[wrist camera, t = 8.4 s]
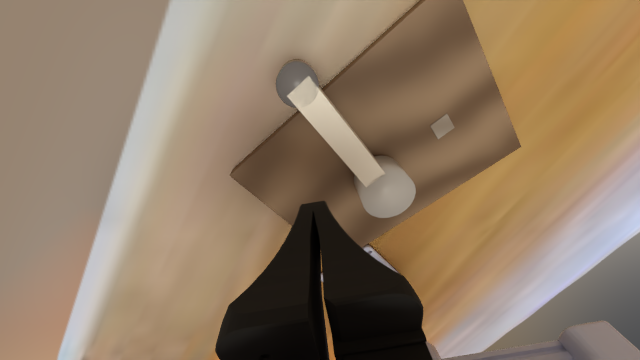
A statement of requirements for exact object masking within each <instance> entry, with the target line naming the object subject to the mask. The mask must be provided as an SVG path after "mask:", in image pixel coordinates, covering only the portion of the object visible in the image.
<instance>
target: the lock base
mask: <svg viewBox="0 0 640 360" xmlns="http://www.w3.org/2000/svg"><path fill="white" fill-rule="evenodd" d="M322 91H323V92H324V93H325V94H326V96H327V97H328V98H329V100H330V101H331V102H332V103H333V105H334V106H335V107H336V109H337V110H338V111H339V112H340V114H341V115H342V116H343V118H344V119H345V120H346V121H347V123H348V124H349V125H350V127H351V128H352V129H353V130H354V132H355V133H356V134H357V136H358V137H359V138H360V139H361V141H362V142H363V143H364V145H365V146H366V147H367V148H368V150H369V151H370V152H371V154H372V155H373V156H374V157H375V156H388V157H391V158H392V159H394V160H395V161H396V162H397V163H398V164H399V165H400V166H401V168H402V169H403V170H404V171H405V172H406V174H407V175H408V176H409V177H410V178H411V180H412V181H413V182H414V184H415V188H416V194H415V198H414V200H413V202H412V203H411V205H410V206H409V207H408V208H407V209H406V210H405V211H403V212H402V213H400V214H398V215H396V216H393V217H389V218H378V217H375V216H372V215H370V214H369V213H368V212H367V211H366V210H365V209H364V207H363V204H362V202H361V199H360V197H359V194H358V192H357V189H356V187H355V184H354V176H355V174H354V173H353V172H352V170H351V169H350V168H349V167H348V166H347V165H346V164H345V162H344V161H343V160H342V159H341V158H340V157H339V155H338V154H337V153H336V152H335V151H334V150H333V149H332V147H331V146H330V145H329V144H328V143H327V142H326V141H325V139H324V138H323V137H322V136H321V135H320V134H319V132H318V131H317V130H316V129H315V128H314V127H313V126H312V124H311V123H310V122H309V121H308V120H307V119H306V118H305V116H304V115H303V114H302V113H301V112H300V111H299V110H298V111H297V112H296V113H295V114H294V115H293V116H292V117H290V118H289V119H288V120H287V121H286V122H285V123H284V124H283V125H282V126H280V127H279V128H278V129H277V130H276V131H275V132H274V133H273V134H272V135H271V136H269V137H268V138H267V139H266V140H265V141H264V142H263V143H262V144H261V145H259V146H258V147H257V148H256V149H255V150H254V151H253V152H252V153H251V154H249V155H248V156H247V157H246V158H245V159H244V160H243V161H242V162H241V163H239V164H238V165H237V166H236V167H235V168H234V169H233V170H232V172H231V174H230V176H231V177H232V178H233V179H234V180H236V181H237V182H238V183H239V184H241V185H242V186H243V187H244V188H246V189H247V190H248V191H249V192H251V193H252V194H253V195H254V196H256V197H257V198H258V199H259V200H261V201H262V202H263V203H264V204H266V205H267V206H268V207H269V208H271V209H272V210H273V211H274V212H276V213H277V214H278V215H279V216H281V217H282V218H283V219H284V220H286V221H287V222H288V223H289V224H291V225H292V226H293V224H294V222H295V219H296V217H297V214H298V211H299V208H300V206H301V204H306V203H312V202H318V201H325V202H326V203H327V206H328V208H329V210H330V211H331V213H332V215H333V216H334V218H335V219H336V220H337V222H338V223H339V225H340V226H341V227H342V228H343V229H344V231H345V232H346V233H347V234H348V235H349V236H350V237H351V238H352V239H353V240H354V241H355V242H356V243H357V244H358V245H359V246H360V247H361V248H362V247H363V246H365V245H367V244H368V243H370V242H371V241H373V240H374V239H376V238H378V237H379V236H381V235H382V234H384V233H385V232H387V231H389V230H390V229H392V228H393V227H395V226H397V225H398V224H400V223H401V222H403V221H404V220H406V219H408V218H409V217H411V216H412V215H414V214H415V213H417V212H419V211H420V210H422V209H423V208H425V207H427V206H428V205H430V204H431V203H433V202H434V201H436V200H438V199H439V198H441V197H442V196H444V195H445V194H447V193H449V192H450V191H452V190H453V189H455V188H457V187H458V186H460V185H461V184H463V183H464V182H466V181H468V180H469V179H471V178H472V177H474V176H476V175H477V174H479V173H480V172H482V171H483V170H485V169H487V168H488V167H490V166H491V165H493V164H494V163H496V162H498V161H499V160H501V159H502V158H504V157H506V156H507V155H509V154H510V153H512V152H513V151H515V150H517V149H518V148H520V147H521V145H520V143H519V140H518V138H517V135H516V133H515V130H514V128H513V125H512V122H511V120H510V117H509V115H508V112H507V110H506V107H505V105H504V102H503V100H502V97H501V95H500V92H499V90H498V87H497V85H496V82H495V80H494V77H493V75H492V72H491V70H490V67H489V65H488V62H487V60H486V57H485V55H484V52H483V50H482V47H481V45H480V42H479V40H478V37H477V35H476V32H475V30H474V27H473V25H472V22H471V20H470V17H469V14H468V12H467V9H466V7H465V4H464V2H463V0H420V1H419V2H418V3H417V4H416V5H415V6H413V7H412V8H411V9H410V10H409V11H408V12H407V13H406V14H405V15H404V16H402V17H401V18H400V19H399V20H398V21H397V22H396V23H395V24H394V25H392V26H391V27H390V28H389V29H388V30H387V31H386V32H385V33H384V34H382V35H381V36H380V37H379V38H378V39H377V40H376V41H375V42H374V43H372V44H371V45H370V46H369V47H368V48H367V49H366V50H365V51H364V52H363V53H361V54H360V55H359V56H358V57H357V58H356V59H355V60H354V61H353V62H351V63H350V64H349V65H348V66H347V67H346V68H345V69H344V70H343V71H341V72H340V73H339V74H338V75H337V76H336V77H335V78H334V79H333V80H331V81H330V82H329V83H328V84H327V85H326V86H325V87H324V88H323V89H322ZM320 249H321V248H320Z"/></svg>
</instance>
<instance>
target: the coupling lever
mask: <svg viewBox="0 0 640 360" xmlns="http://www.w3.org/2000/svg"><path fill="white" fill-rule="evenodd" d="M276 89H277V93H278V95H279V97H280V98H281V100H282V101H283V102H284V103H286V104H287V105H289V106H291V107H295V108H298V110H299V111H300V112H301V113H302V114H303V115H304V116H305V118H306V119H307V120H308V121H309V122H310V123H311V124H312V126H313V127H314V128H315V129H316V130H317V131H318V132H319V134H320V135H321V136H322V137H323V138H324V139H325V141H326V142H327V143H328V144H329V145H330V146H331V147H332V149H333V150H334V151H335V152H336V153H337V154H338V155H339V157H340V158H341V159H342V160H343V161H344V162H345V164H346V165H347V166H348V167H349V168H350V169H351V170H352V172H353V173H354V174H355V176H354V184H355V187H356V189H357V192H358V194H359V197H360V199H361V202H362V204H363V207H364V209H365V210H366V211H367V212H368V213H369V214H370V215H372V216H375V217H378V218H389V217H393V216H396V215H398V214H400V213H402V212H403V211H405V210H406V209H407V208H408V207H409V206H410V205H411V203H412V202H413V200H414V198H415V194H416V188H415V184H414V182H413V181H412V180H411V178H410V177H409V176H408V175H407V174H406V172H405V171H404V170H403V169H402V168H401V166H400V165H399V164H398V163H397V162H396V161H395V160H394V159H392V158H391V157H388V156H375V157H374V156H373V155H372V154H371V152H370V151H369V150H368V148H367V147H366V146H365V145H364V143H363V142H362V141H361V139H360V138H359V137H358V136H357V134H356V133H355V132H354V130H353V129H352V128H351V127H350V125H349V124H348V123H347V121H346V120H345V119H344V118H343V116H342V115H341V114H340V112H339V111H338V110H337V109H336V107H335V106H334V105H333V103H332V102H331V101H330V100H329V98H328V97H327V96H326V94H325V93H324V92H323V91H322V89H321V88H320V87H319V82H318V78H317V76H316V74H315V72H314V70H313V69H312V67H311V66H310V65H309V64H308V63H307V62H305V61H303V60H299V59H295V60H291V61H289V62H287V63H286V64H285V65H284V66H283V67H282V69H281V71H280V72H279V74H278V76H277V80H276Z"/></svg>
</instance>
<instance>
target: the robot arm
mask: <svg viewBox="0 0 640 360" xmlns="http://www.w3.org/2000/svg"><path fill="white" fill-rule="evenodd" d="M320 248H321V249H320ZM321 257H322V270H323V273H321ZM321 281H322V282H323V288H324V301H325V305H326V310H327V314H328V319H329V323H330V328H331V332H332V339H333V347H334V355H335V357H336V360H640V351H639V350H638V349H637V348H636V347H635V346H633V344H631V343H630V342H629V341H628V340H627V339H626V338H625V337H624V336H622V335H621V334H620V333H619V332H618V331H617V330H615V328H614V327H612V326H611V325H610V324H609V323H608V322H606V321H597V322H591V323H585V324H578V325H574V326H570V327H568V328H566V329H565V330H563V331H562V333H561V334H560V336H559V340H555V341H548V342H543V343H537V344H530V345H524V346H518V347H513V348H506V349H500V350H494V351H488V352H482V353H475V354H469V355H463V356H457V357H451V358H445V359H441V358H440V356H439V354H438V352H437V350H436V348H435V347H434V346H433V345H432V344H430V343H428V342H427V341H426V337H425V335H424V332H423V330H422V328H421V327H422V319H423V306H422V304H421V301H420V299H419V297H418V296H417V294H416V293H415V291H414V289H413V288H412V286H411V285H410V284H409V282H408V281H407V280H406V278H405V277H404V276H402V275H401V274H400V273H399V272H397V271H396V270H395V269H394V268H393V267H392V266H391V265H390V264H389V263H388V262H387V261H386V260H385V259H384V258H383V257H382V256H381V255H379V254H378V253H377V252H376V251H375V250H374V249H373V248H372V247H371V246H370V245H365V246H364V247H362V248H361V247H360V246H359V245H358V244H357V243H356V242H355V241H354V240H353V239H352V238H351V237H350V236H349V235H348V234H347V233H346V232H345V231H344V229H343V228H342V227H341V226H340V225H339V223H338V222H337V220H336V219H335V218H334V216H333V215H332V213H331V211H330V210H329V208H328V206H327V203H326V202H325V201H318V202H312V203H306V204H301V206H300V208H299V211H298V214H297V217H296V219H295V222H294V224H293V226H292V228H291V230H290V232H289V234H288V236H287V238H286V240H285V242H284V243H283V245H282V247H281V248H280V250H279V251H278V253H277V254H276V256H275V257H274V259H273V260H272V261H271V262H270V264H269V265H268V266H267V268H266V269H265V270H264V271H263V273H262V274H261V275H260V276H259V277H258V278H257V279H256V280H255V281H254V282H253V283H252V285H251V286H250V287H249V288H248V289H246V290H245V291H244V292H243V293H242V294H241V295H240V296H239V297H238V298H237V299H235V300H234V301H233V302H232V303H231V304H230V305H229V306H228V309H227V312H226V314H225V316H224V319H223V322H222V325H221V328H220V332H219V336H218V339H217V343H216V349H215V351H216V354H217V356H218V357H219V359H220V360H329V353H328V344H327V336H326V327H325V319H324V310H323V301H322V291H321Z"/></svg>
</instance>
